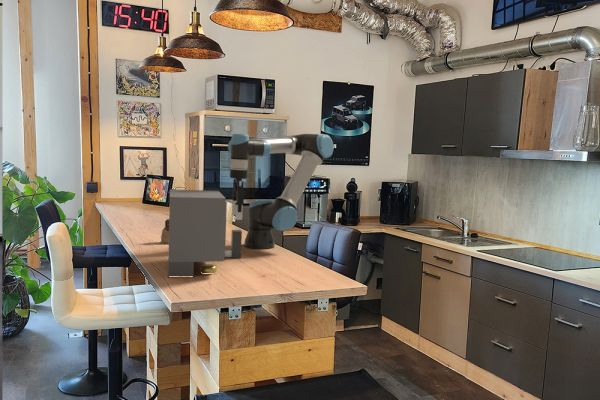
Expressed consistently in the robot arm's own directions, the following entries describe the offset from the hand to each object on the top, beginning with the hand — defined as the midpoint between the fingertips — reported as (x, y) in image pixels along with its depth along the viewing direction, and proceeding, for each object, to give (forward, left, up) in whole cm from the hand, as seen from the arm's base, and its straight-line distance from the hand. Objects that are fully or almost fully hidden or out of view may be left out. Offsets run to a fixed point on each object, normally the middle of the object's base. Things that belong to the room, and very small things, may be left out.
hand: (236, 217), depth 217 cm
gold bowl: (+14, +26, -18) cm, 35 cm away
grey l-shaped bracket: (+8, 0, -18) cm, 20 cm away
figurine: (+29, -32, -18) cm, 47 cm away
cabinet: (+19, +18, -18) cm, 32 cm away
